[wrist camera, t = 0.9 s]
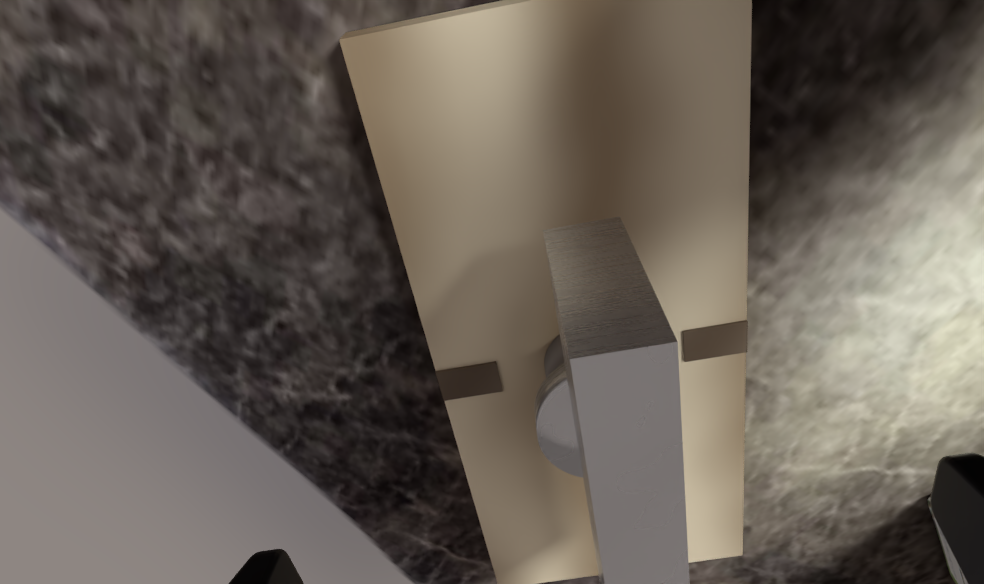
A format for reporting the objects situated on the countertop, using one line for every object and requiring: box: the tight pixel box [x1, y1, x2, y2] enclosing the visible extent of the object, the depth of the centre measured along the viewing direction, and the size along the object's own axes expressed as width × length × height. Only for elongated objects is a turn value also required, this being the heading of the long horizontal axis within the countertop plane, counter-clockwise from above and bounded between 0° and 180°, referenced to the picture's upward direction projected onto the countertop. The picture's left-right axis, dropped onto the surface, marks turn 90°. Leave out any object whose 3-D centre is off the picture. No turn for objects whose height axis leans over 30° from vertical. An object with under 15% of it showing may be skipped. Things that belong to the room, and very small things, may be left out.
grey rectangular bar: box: [534, 217, 690, 584], centre depth 17 cm, size 4×13×7 cm, turn 11°
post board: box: [339, 0, 752, 584], centre depth 21 cm, size 10×22×3 cm, turn 11°
